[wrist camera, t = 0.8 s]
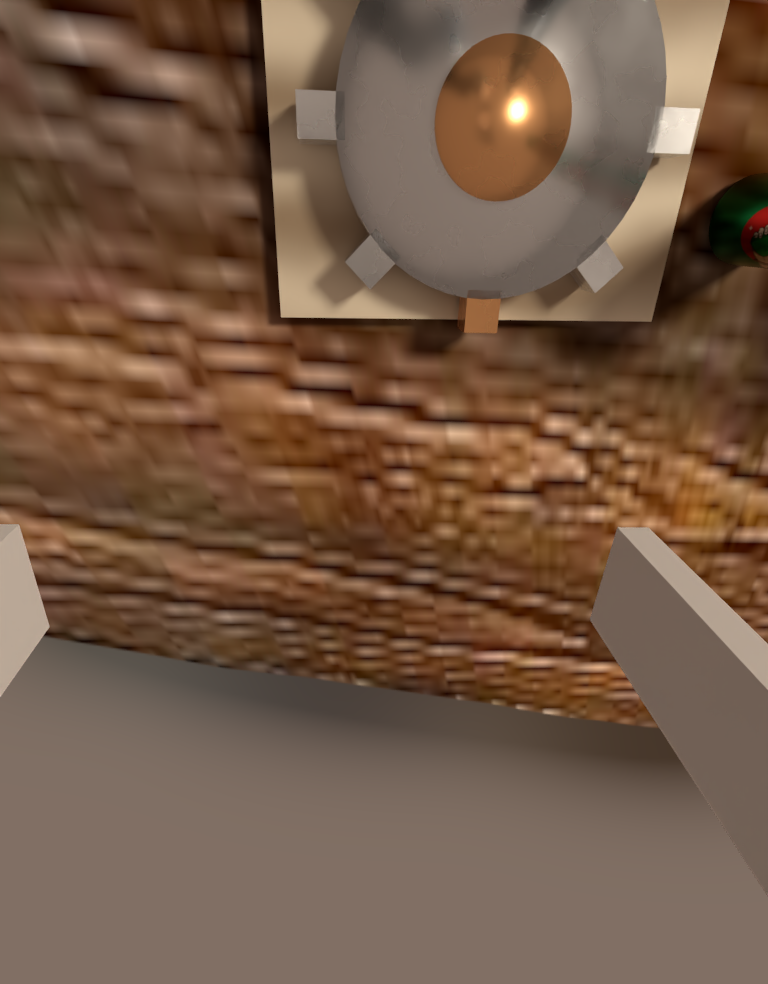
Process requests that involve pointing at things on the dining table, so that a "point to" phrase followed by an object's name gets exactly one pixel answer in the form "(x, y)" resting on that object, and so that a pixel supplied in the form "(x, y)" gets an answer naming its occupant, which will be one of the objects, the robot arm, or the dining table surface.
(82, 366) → the dining table surface
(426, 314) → the base board
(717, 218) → the soda can
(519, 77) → the sprocket
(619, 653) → the robot arm
